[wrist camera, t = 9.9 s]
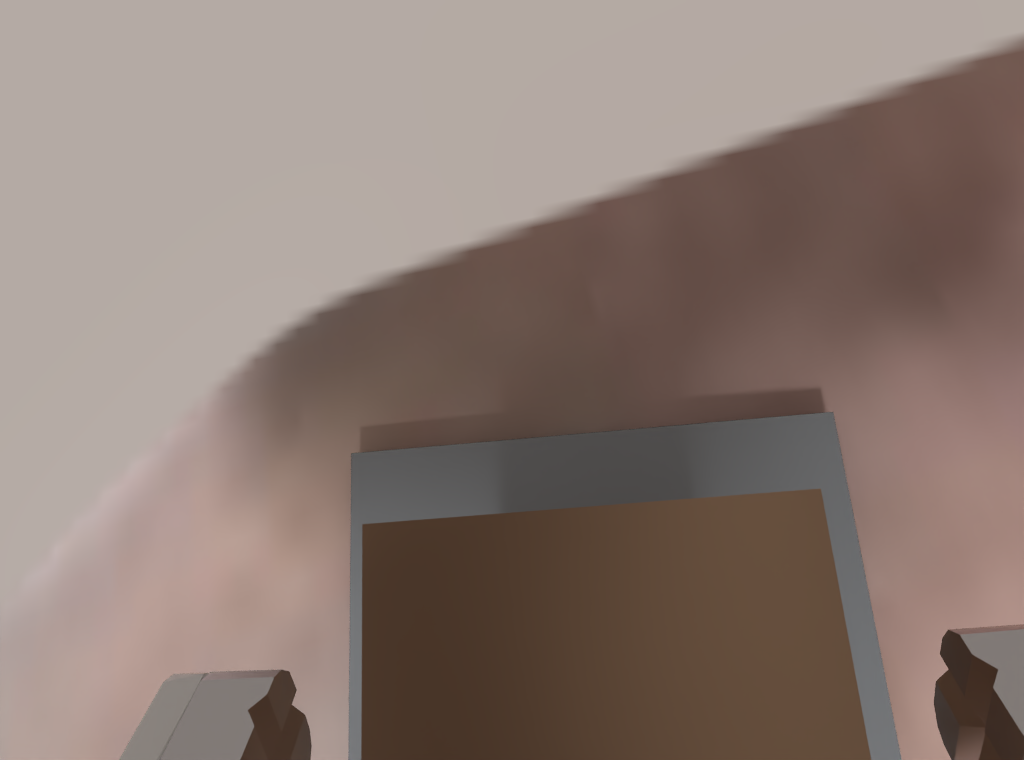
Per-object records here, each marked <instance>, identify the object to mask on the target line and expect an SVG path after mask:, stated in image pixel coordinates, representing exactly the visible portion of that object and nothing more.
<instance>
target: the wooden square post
mask: <svg viewBox="0 0 1024 760" xmlns="http://www.w3.org/2000/svg"><path fill="white" fill-rule="evenodd" d="M361 760H871V755H870V750H869V745H868V739H867V734H866V729H865V723H864V718H863V712H862V707H861V702H860V696H859V691H858V685H857V680H856V675H855V669H854V664H853V659H852V653H851V648H850V642H849V637H848V632H847V626H846V621H845V616H844V610H843V605H842V599H841V594H840V589H839V583H838V578H837V572H836V567H835V562H834V556H833V551H832V546H831V540H830V535H829V529H828V524H827V519H826V513H825V508H824V503H823V497H822V492H821V489H808V490H795V491H782V492H770V493H757V494H744V495H731V496H718V497H705V498H692V499H679V500H667V501H654V502H641V503H628V504H615V505H602V506H589V507H577V508H564V509H551V510H538V511H525V512H512V513H499V514H486V515H474V516H461V517H448V518H435V519H422V520H409V521H396V522H383V523H371V524H362V712H361Z"/></svg>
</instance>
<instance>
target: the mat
mask: <svg viewBox="0 0 1024 760" xmlns="http://www.w3.org/2000/svg"><path fill="white" fill-rule="evenodd" d="M808 489H821V492H822V497H823V503H824V508H825V513H826V519H827V524H828V529H829V535H830V540H831V546H832V551H833V556H834V562H835V567H836V572H837V578H838V583H839V589H840V594H841V599H842V605H843V610H844V616H845V621H846V626H847V632H848V637H849V642H850V648H851V653H852V659H853V664H854V669H855V675H856V680H857V685H858V691H859V696H860V702H861V707H862V712H863V718H864V723H865V729H866V734H867V739H868V745H869V750H870V755H871V760H901V754H900V749H899V744H898V739H897V734H896V729H895V724H894V719H893V714H892V709H891V704H890V699H889V693H888V688H887V683H886V678H885V673H884V668H883V663H882V658H881V653H880V648H879V643H878V638H877V632H876V627H875V622H874V617H873V612H872V607H871V602H870V597H869V592H868V587H867V582H866V576H865V571H864V566H863V561H862V556H861V551H860V546H859V541H858V536H857V531H856V526H855V521H854V515H853V510H852V505H851V500H850V495H849V490H848V485H847V480H846V475H845V470H844V465H843V459H842V454H841V449H840V444H839V439H838V434H837V429H836V424H835V419H834V414H833V412H826V413H814V414H803V415H791V416H779V417H768V418H756V419H745V420H733V421H721V422H710V423H698V424H687V425H675V426H663V427H652V428H640V429H629V430H617V431H605V432H594V433H582V434H570V435H559V436H547V437H536V438H524V439H512V440H501V441H489V442H478V443H466V444H454V445H443V446H431V447H420V448H408V449H396V450H385V451H373V452H362V453H351V553H350V656H349V759H348V760H361V712H362V524H371V523H383V522H396V521H409V520H422V519H435V518H448V517H461V516H474V515H486V514H499V513H512V512H525V511H538V510H551V509H564V508H577V507H589V506H602V505H615V504H628V503H641V502H654V501H667V500H679V499H692V498H705V497H718V496H731V495H744V494H757V493H770V492H782V491H795V490H808Z"/></svg>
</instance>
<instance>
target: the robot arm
mask: <svg viewBox="0 0 1024 760" xmlns="http://www.w3.org/2000/svg"><path fill="white" fill-rule="evenodd" d="M940 655H941V657H942V658H943V660H944V662H945V664H946V665H947V667H948V669H949V670H948V671H947V672H946V673H944V674H943V675H942V676H941V677H940V678H939V679H938V680H937V681H936V687H935V697H934V706H935V712H936V719H937V725H938V728H939V731H940V734H941V737H942V740H943V743H944V745H945V747H946V749H947V751H948V753H949V755H950V757H951V759H952V760H1024V624H1022V625H1008V626H993V627H979V628H964V629H950V630H948V631H947V632H946V634H945V635H944V637H943V639H942V645H941V651H940ZM295 693H296V687H295V685H294V682H293V680H292V677H291V675H290V672H288V671H285V670H257V671H226V672H210V673H187V674H173V675H172V676H171V677H169V678H168V679H167V680H166V681H164V682H163V684H162V685H161V687H160V689H159V691H158V692H157V694H156V696H155V698H154V699H153V701H152V703H151V705H150V706H149V708H148V710H147V712H146V713H145V715H144V717H143V719H142V720H141V722H140V724H139V726H138V727H137V729H136V731H135V733H134V734H133V736H132V738H131V740H130V742H129V743H128V745H127V747H126V749H125V750H124V752H123V754H122V756H121V757H120V759H119V760H310V757H311V738H310V729H309V726H308V723H307V720H306V716H305V715H304V714H303V713H302V712H300V711H299V710H298V709H297V708H295V707H294V706H293V705H291V704H292V702H293V699H294V696H295Z"/></svg>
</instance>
